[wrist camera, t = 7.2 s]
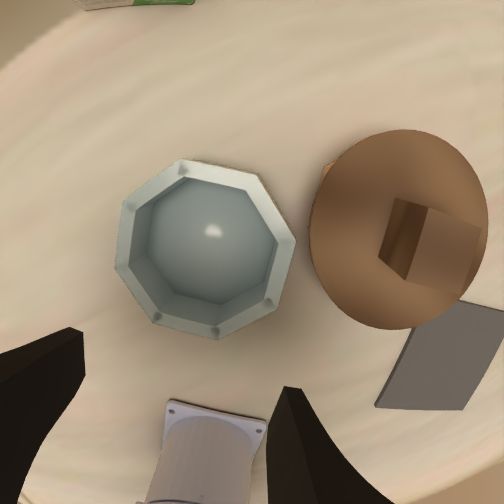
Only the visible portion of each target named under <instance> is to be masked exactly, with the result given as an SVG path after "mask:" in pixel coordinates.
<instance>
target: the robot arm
mask: <svg viewBox="0 0 504 504" xmlns="http://www.w3.org/2000/svg"><path fill="white" fill-rule="evenodd" d="M85 375H86V374H85V360H84V340H83V332H81V331H79V330H76V329H74V328H71V327H68V328H65V329H62V330H60V331H57V332H55V333H52V334H50V335H48V336H45V337H43V338H41V339H38V340H36V341H33V342H31V343H29V344H26V345H24V346H21V347H18V348H15V349H13V350H10V351H7V352H4V353H1V354H0V504H17V501H18V498H19V495H20V492H21V489H22V486H23V484H24V481H25V478H26V476H27V474H28V471H29V469H30V467H31V464H32V462H33V460H34V458H35V456H36V454H37V452H38V450H39V448H40V446H41V444H42V442H43V441H44V439H45V437H46V436H47V434H48V433H49V431H50V430H51V429H52V427H53V426H54V424H55V423H56V422H57V420H58V419H59V417H60V416H61V415H62V413H63V412H64V410H65V409H66V408H67V406H68V405H69V403H70V402H71V401H72V399H73V398H74V396H75V394H76V393H77V391H78V389H79V387H80V385H81V383H82V381H83V379H84V377H85ZM171 409H172V410H174V411H172V410H171ZM266 428H267V423H266V422H265V421H263V420H258V419H252V418H247V417H242V416H237V415H232V414H227V413H223V412H218V411H214V410H209V409H205V408H201V407H197V406H193V405H189V404H185V403H182V402H178V401H174V400H169V401H168V402H167V405H166V412H165V421H164V431H163V441H162V452H161V455H160V458H159V461H158V464H157V467H156V470H155V473H154V476H153V479H152V482H151V485H150V488H149V491H148V494H147V497H146V500H145V503H143V502H136V504H249V501H250V484H251V467H252V461H253V459H254V457H255V455H256V452H257V450H258V448H259V445H260V443H261V440H262V438H263V436H264V433H265V431H266ZM257 429H261V430H257ZM266 463H267V485H268V504H394V503H393V502H391V501H390V500H389V499H387V498H386V497H385V496H383V495H382V494H381V493H380V492H379V491H377V490H376V489H375V488H374V487H373V486H372V485H371V484H370V483H368V482H367V481H366V480H365V479H364V478H363V477H362V476H361V475H360V474H359V473H358V472H357V470H356V469H355V468H354V467H353V466H352V465H351V464H350V463H349V462H348V461H347V459H346V458H345V457H344V456H343V454H342V453H341V452H340V450H339V449H338V448H337V446H336V445H335V444H334V442H333V441H332V439H331V438H330V436H329V435H328V433H327V432H326V430H325V429H324V427H323V425H322V424H321V422H320V421H319V419H318V417H317V416H316V414H315V412H314V410H313V409H312V407H311V405H310V403H309V401H308V400H307V398H306V396H305V394H304V392H303V391H302V389H299V388H293V387H287V386H284V387H283V390H282V392H281V395H280V397H279V400H278V402H277V405H276V407H275V410H274V412H273V415H272V417H271V420H270V422H269V424H268V432H267V443H266Z"/></svg>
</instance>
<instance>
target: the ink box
mask: <svg viewBox="0 0 504 504" xmlns="http://www.w3.org/2000/svg"><path fill="white" fill-rule="evenodd" d="M73 1H74V2H75V3H76V4H77V5H78V6H80V7H81V8H82V9H83V10H92V9H99V8H107V7H117V6H127V5H142V4H192V3H193V2H194V0H73Z"/></svg>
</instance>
